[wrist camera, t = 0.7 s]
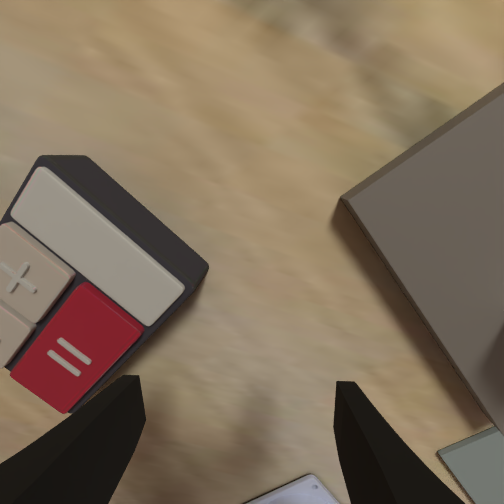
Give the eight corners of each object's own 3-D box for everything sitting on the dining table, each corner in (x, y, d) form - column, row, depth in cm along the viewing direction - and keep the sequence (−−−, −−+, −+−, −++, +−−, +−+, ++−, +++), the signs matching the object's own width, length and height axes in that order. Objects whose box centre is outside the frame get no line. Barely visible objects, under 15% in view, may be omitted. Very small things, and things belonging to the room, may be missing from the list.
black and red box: (-74, 328, 19) (27, 150, 14) (-10, 297, 23) (84, 151, 18) (64, 426, 20) (194, 293, 16) (100, 381, 24) (212, 265, 20)
